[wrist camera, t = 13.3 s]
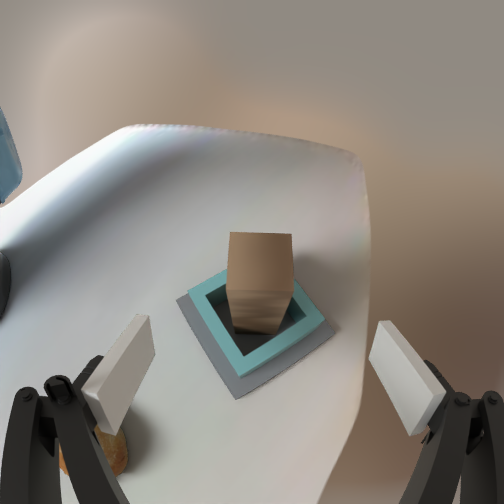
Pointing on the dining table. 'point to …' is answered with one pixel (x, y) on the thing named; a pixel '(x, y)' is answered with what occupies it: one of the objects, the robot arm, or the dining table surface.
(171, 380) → the dining table surface
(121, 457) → the bread roll
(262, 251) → the walnut post
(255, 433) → the dining table surface
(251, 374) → the teal square socket
